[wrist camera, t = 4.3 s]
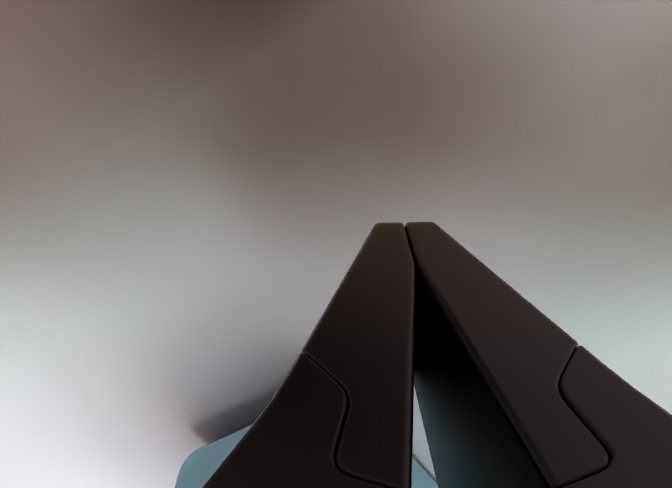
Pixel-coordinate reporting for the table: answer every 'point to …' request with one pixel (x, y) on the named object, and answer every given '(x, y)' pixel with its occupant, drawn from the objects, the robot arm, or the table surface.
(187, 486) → the data package
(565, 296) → the table surface
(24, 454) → the table surface
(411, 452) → the robot arm
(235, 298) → the table surface
